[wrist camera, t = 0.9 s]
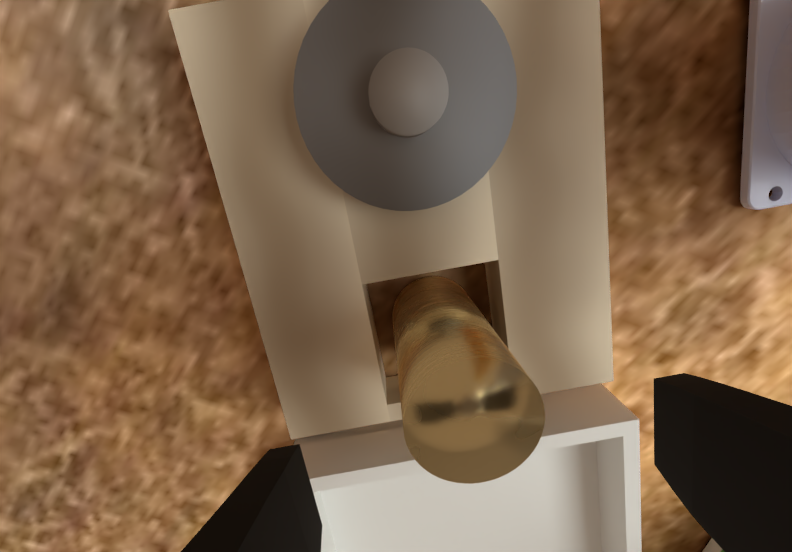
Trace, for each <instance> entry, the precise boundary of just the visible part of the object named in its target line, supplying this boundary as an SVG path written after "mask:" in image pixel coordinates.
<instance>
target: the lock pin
mask: <svg viewBox="0 0 792 552" xmlns="http://www.w3.org/2000/svg"><path fill="white" fill-rule="evenodd" d="M392 321H393V331H394V341H395V351H396V361H397V371H398V381H399V391H400V401H401V411H402V421H403V431H404V438H405V441H406V445H407V447H408V449H409V451H410V453H411V455H412V456H413V458H414V459H415V460H416V461H417V463H418V464H419V465H420V466H421V467H423V468H424V469H425V470H426V471H428V472H429V473H431V474H432V475H434V476H436V477H438V478H441V479H444V480H447V481H450V482H455V483H464V484H474V483H482V482H487V481H491V480H494V479H497V478H500V477H502V476H504V475H506V474H508V473H510V472H511V471H513V470H514V469H516V468H517V467H518V466H520V465H521V464H522V463H523V462H524V461H525V460H526V459H527V458H528V457H529V456H530V455H531V454H532V452H533V451H534V450H535V448H536V446H537V444H538V443H539V440H540V438H541V436H542V433H543V429H544V423H545V409H544V403H543V400H542V397H541V394H540V392H539V390H538V389H537V387H536V386H535V384H534V383H533V381H532V380H531V379H530V377H529V376H528V375H527V373H526V372H525V371H524V369H523V368H522V367H521V365H520V364H519V363H518V361H517V360H516V359H515V357H514V356H513V355H512V353H511V352H510V351H509V349H508V348H507V347H506V345H505V344H504V343H503V341H502V340H501V339H500V337H499V336H498V335H497V333H496V332H495V331H494V329H493V328H492V327H491V325H490V324H489V322H488V321H487V320H486V318H485V317H484V316H483V314H482V313H481V312H480V310H479V309H478V308H477V306H476V305H475V304H474V302H473V301H472V300H471V298H470V297H469V296H468V294H467V293H466V292H465V290H464V289H463V288H462V287H461V286H460V285H458V284H457V283H456V282H454V281H452V280H450V279H448V278H444V277H438V276H430V277H424V278H420V279H418V280H415V281H413V282H412V283H410V284H409V285H407V286H406V287H405V288H404V289H403V290H402V291H401V292H400V294H399V295H398V297H397V298H396V301H395V303H394V306H393V311H392Z"/></svg>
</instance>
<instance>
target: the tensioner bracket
mask: <svg viewBox="0 0 792 552" xmlns="http://www.w3.org/2000/svg"><path fill="white" fill-rule="evenodd" d="M168 13H169V16H170V19H171V23H172V26H173V30H174V33H175V37H176V40H177V44H178V47H179V51H180V54H181V58H182V61H183V65H184V68H185V72H186V75H187V79H188V82H189V86H190V89H191V93H192V96H193V100H194V103H195V107H196V110H197V114H198V117H199V121H200V124H201V128H202V131H203V134H204V138H205V141H206V145H207V148H208V152H209V155H210V159H211V162H212V166H213V169H214V173H215V176H216V180H217V183H218V187H219V190H220V194H221V197H222V201H223V204H224V208H225V211H226V215H227V218H228V222H229V225H230V229H231V232H232V236H233V239H234V243H235V246H236V250H237V253H238V256H239V260H240V263H241V267H242V270H243V274H244V277H245V281H246V284H247V288H248V291H249V295H250V298H251V302H252V305H253V309H254V312H255V316H256V319H257V323H258V326H259V330H260V333H261V337H262V340H263V344H264V347H265V351H266V354H267V358H268V361H269V365H270V368H271V372H272V375H273V378H274V382H275V385H276V389H277V392H278V396H279V399H280V403H281V406H282V410H283V413H284V417H285V420H286V424H287V427H288V431H289V434H290V438H291V440H292V439H297V438H303V437H308V436H314V435H319V434H325V433H330V432H336V431H341V430H347V429H352V428H358V427H363V426H369V425H374V424H380V423H385V422H391V421H396V420H402V411H401V401H400V391H399V381H398V375H396V376H390V377H386V375H385V370H384V366H383V361H382V356H381V351H380V346H379V341H378V336H377V331H376V326H375V321H374V317H373V312H372V307H371V302H370V297H369V292H368V287H367V284H369V283H374V282H380V281H385V280H391V279H396V278H402V277H407V276H413V275H418V274H424V273H429V272H435V271H440V270H446V269H451V268H457V267H462V266H468V265H473V264H479V263H484V262H485V270H486V278H487V287H488V295H489V303H490V311H491V320H492V328H493V329H494V331H495V332H496V333H497V335H498V336H499V337H500V339H501V340H502V341H503V343H504V344H505V345H506V347H507V348H508V349H509V351H510V352H511V353H512V355H513V356H514V357H515V359H516V360H517V361H518V363H519V364H520V365H521V367H522V368H523V369H524V371H525V372H526V373H527V375H528V376H529V377H530V379H531V380H532V381H533V383H534V384H535V386H536V387H537V389H538V390H539V392H540V394H545V393H551V392H556V391H562V390H567V389H573V388H578V387H584V386H589V385H595V384H600V383H606V382H611V381H614V378H613V351H612V324H611V297H610V270H609V242H608V215H607V188H606V161H605V134H604V107H603V79H602V52H601V25H600V0H220V1H215V2H209V3H204V4H199V5H193V6H188V7H182V8H177V9H171V10H168Z"/></svg>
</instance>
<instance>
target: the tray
mask: <svg viewBox="0 0 792 552" xmlns="http://www.w3.org/2000/svg"><path fill="white" fill-rule="evenodd" d="M541 397H542V400H543V403H544V409H545V423H544V429H543V433H542V436H541V438H540V440H539V443H538V444H537V446H536V448H535V450H534V451H533V452H532V454H531V455H530V456H529V457H528V458H527V459H526V460H525V461H524V462H523V463H522V464H521V465H520V466H518V467H517V468H516V469H514V470H513V471H511V472H510V473H508V474H506V475H504V476H502V477H500V478H497V479H494V480H491V481H487V482H482V483H474V484H464V483H455V482H450V481H447V480H444V479H441V478H438V477H436V476H434V475H432V474H431V473H429V472H428V471H426V470H425V469H424V468H423V467H421V466H420V465H419V464H418V463H417V461H416V460H415V459H414V458H413V456H412V455H411V453H410V451H409V449H408V447H407V445H406V441H405V438H404V431H403V421H402V420H398V421H392V422H387V423H381V424H376V425H370V426H365V427H359V428H354V429H348V430H343V431H337V432H332V433H326V434H321V435H315V436H310V437H304V438H299V439H295V442H294V445H297V444H300V447H301V451H302V454H303V458H304V462H305V465H306V469H307V472H308V476H309V479H310V483H311V487H312V490H313V494H314V497H315V501H316V504H317V508H318V511H319V515H320V519H321V522H322V540H321V552H642V546H641V492H640V438H639V419H638V418H637V417H636V416H635V415H634V414H633V413H632V412H631V411H630V410H629V409H628V408H627V407H626V406H625V405H623V404H622V403H621V402H620V401H619V400H618V399H617V398H616V397H615V396H614V395H613V394H612V393H611V392H610V391H609V390H608V389H606V388H605V387H604V386H603V385H602V384H596V385H591V386H585V387H580V388H574V389H569V390H563V391H558V392H552V393H547V394H541Z"/></svg>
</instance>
